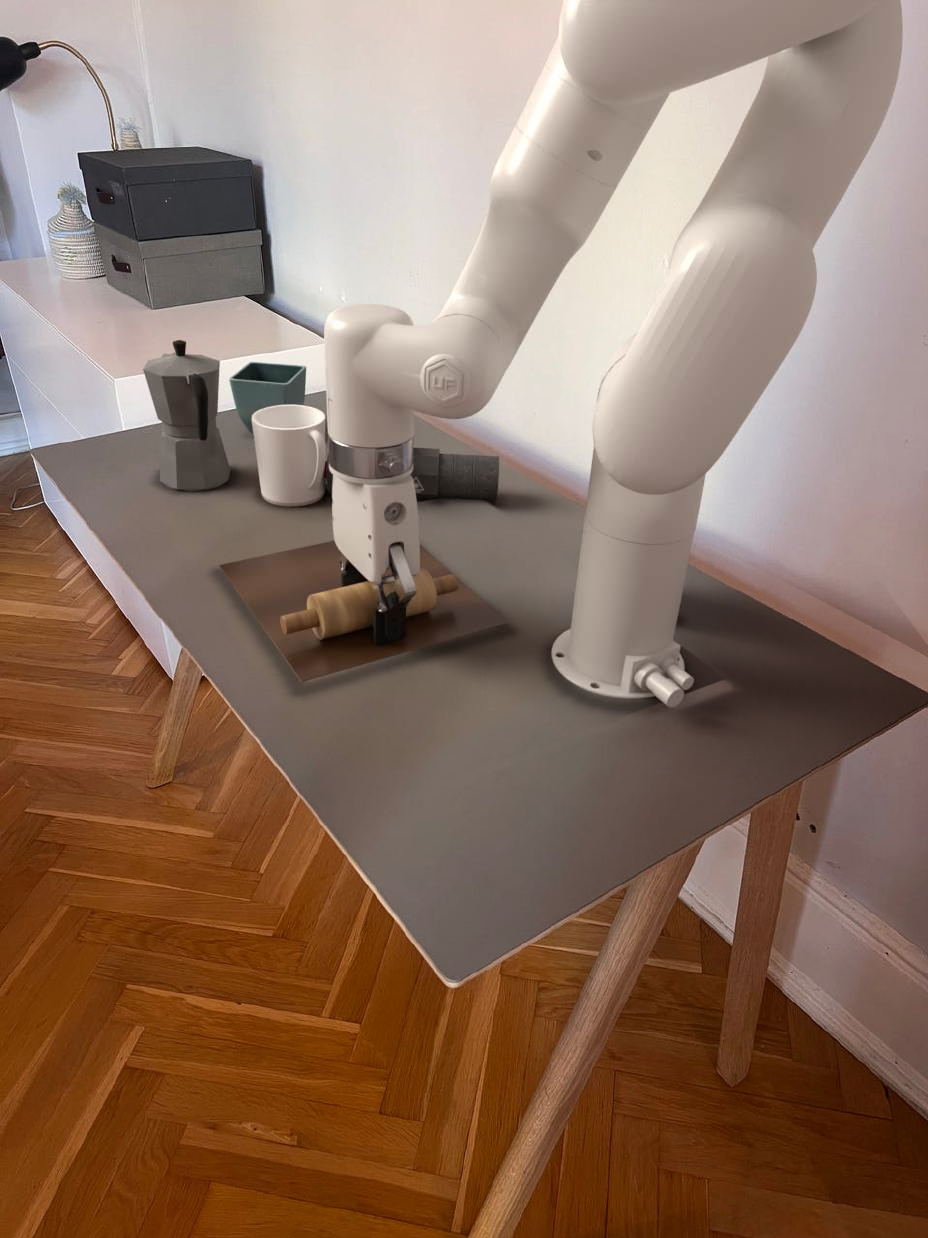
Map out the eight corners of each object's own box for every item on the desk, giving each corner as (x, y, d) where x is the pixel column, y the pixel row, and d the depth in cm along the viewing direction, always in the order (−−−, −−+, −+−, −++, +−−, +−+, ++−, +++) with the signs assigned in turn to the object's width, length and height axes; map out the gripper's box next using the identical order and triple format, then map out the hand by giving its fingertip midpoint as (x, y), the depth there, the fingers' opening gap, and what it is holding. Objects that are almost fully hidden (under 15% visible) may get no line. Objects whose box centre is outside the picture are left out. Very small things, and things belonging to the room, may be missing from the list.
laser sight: (496, 516, 114) (501, 440, 109) (317, 508, 114) (313, 431, 109) (496, 484, 122) (500, 413, 117) (329, 477, 122) (326, 404, 117)
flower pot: (233, 439, 132) (227, 378, 128) (255, 418, 140) (250, 360, 135) (291, 445, 131) (287, 383, 127) (310, 424, 139) (307, 365, 134)
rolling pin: (464, 610, 93) (465, 571, 91) (293, 656, 84) (289, 614, 82) (443, 593, 96) (443, 555, 94) (277, 635, 88) (273, 595, 86)
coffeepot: (147, 465, 123) (127, 330, 113) (216, 454, 127) (202, 323, 118) (177, 510, 112) (157, 364, 102) (251, 497, 116) (239, 356, 106)
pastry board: (507, 631, 92) (508, 622, 91) (301, 690, 82) (301, 681, 81) (399, 533, 109) (400, 526, 109) (219, 572, 99) (218, 564, 99)
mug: (243, 492, 117) (236, 415, 112) (299, 474, 123) (294, 399, 117) (297, 520, 111) (292, 440, 105) (353, 499, 117) (351, 422, 111)
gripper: (456, 481, 76) (449, 657, 86) (368, 415, 89) (370, 575, 98) (375, 497, 73) (376, 678, 82) (295, 426, 85) (304, 591, 95)
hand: (373, 621), depth 90 cm, fingers closed on pastry board, 6 cm apart
